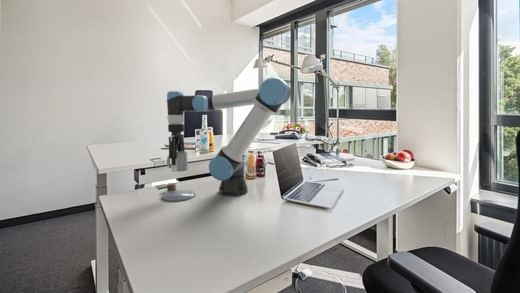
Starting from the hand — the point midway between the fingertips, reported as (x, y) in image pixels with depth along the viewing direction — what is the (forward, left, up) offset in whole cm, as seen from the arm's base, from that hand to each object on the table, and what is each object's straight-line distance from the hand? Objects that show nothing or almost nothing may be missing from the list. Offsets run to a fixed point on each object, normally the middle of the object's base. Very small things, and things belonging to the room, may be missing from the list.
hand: (177, 169), depth 141 cm
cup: (0, +1, 0) cm, 1 cm away
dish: (0, 0, -14) cm, 14 cm away
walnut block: (+7, -8, -14) cm, 17 cm away
